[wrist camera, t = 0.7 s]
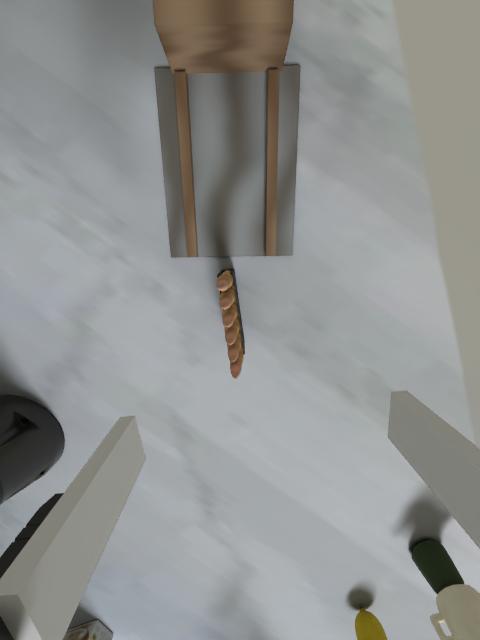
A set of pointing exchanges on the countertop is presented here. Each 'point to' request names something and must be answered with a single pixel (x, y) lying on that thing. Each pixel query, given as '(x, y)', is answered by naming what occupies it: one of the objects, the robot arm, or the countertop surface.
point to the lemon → (368, 626)
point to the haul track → (228, 126)
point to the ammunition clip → (231, 319)
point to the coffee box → (89, 632)
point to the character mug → (449, 593)
